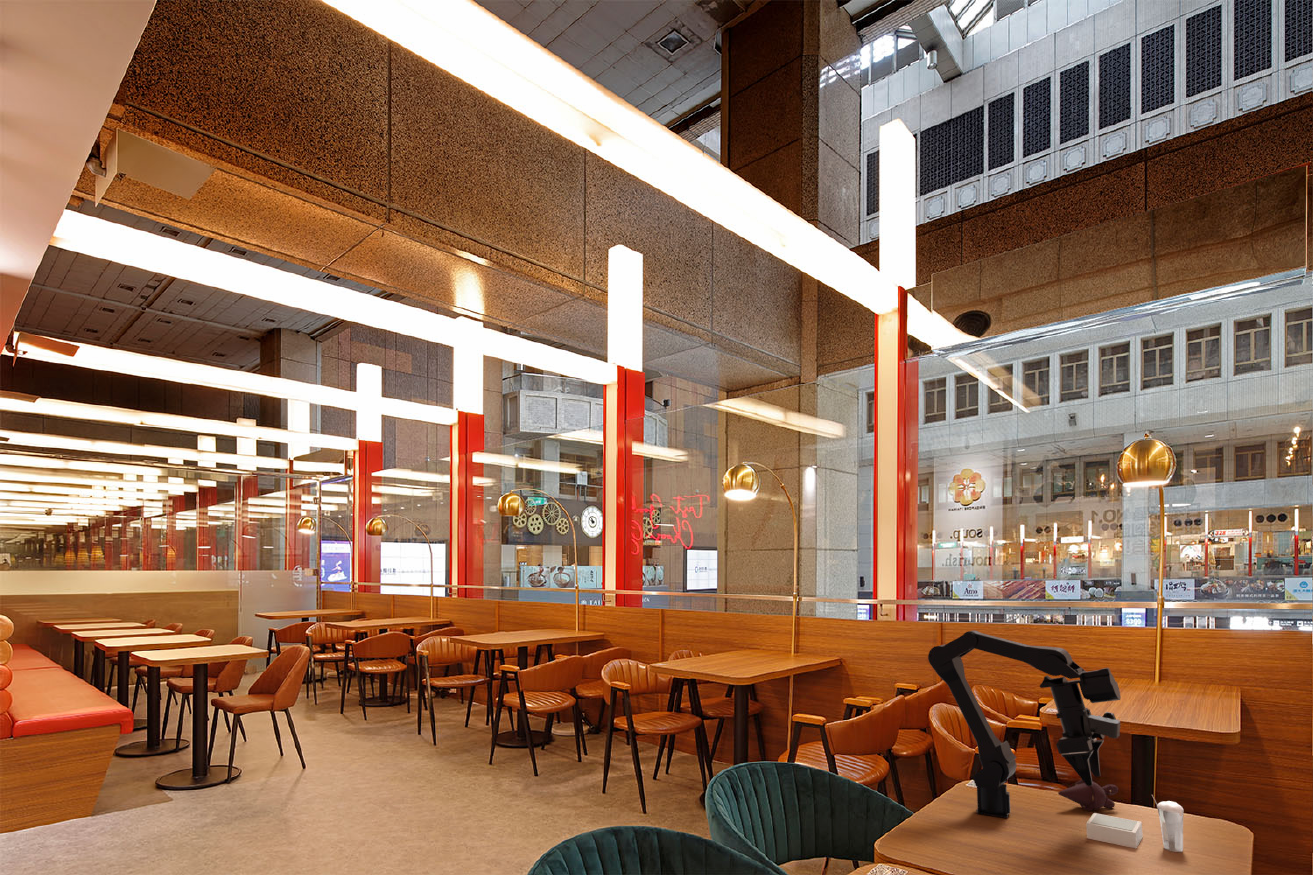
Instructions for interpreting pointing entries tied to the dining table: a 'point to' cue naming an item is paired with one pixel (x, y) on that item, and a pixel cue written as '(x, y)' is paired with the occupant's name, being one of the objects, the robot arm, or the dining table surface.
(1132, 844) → the tile base
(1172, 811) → the milkshake
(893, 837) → the dining table surface
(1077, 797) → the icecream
